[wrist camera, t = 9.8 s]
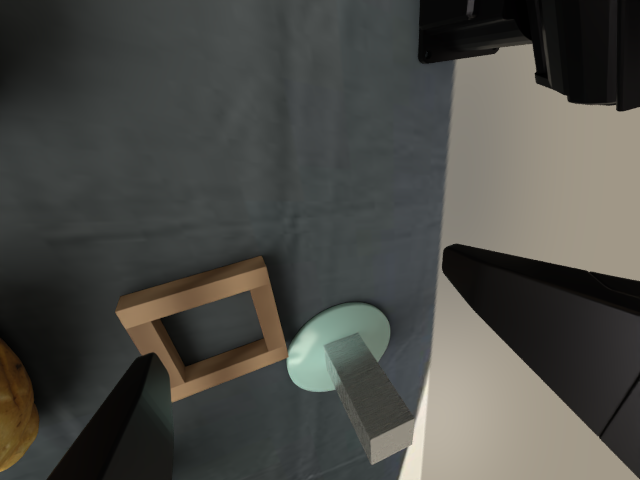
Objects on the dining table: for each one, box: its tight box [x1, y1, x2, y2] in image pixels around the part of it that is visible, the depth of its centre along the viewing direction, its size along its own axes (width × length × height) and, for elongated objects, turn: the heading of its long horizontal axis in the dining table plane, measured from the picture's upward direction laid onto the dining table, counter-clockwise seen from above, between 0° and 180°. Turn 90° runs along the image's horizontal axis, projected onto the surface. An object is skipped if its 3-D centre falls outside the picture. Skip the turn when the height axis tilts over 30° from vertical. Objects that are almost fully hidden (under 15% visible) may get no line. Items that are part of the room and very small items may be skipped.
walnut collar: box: [115, 256, 289, 402], centre depth 23 cm, size 10×10×2 cm
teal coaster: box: [286, 302, 390, 392], centre depth 30 cm, size 11×11×1 cm
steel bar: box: [324, 332, 415, 465], centre depth 26 cm, size 4×4×9 cm
